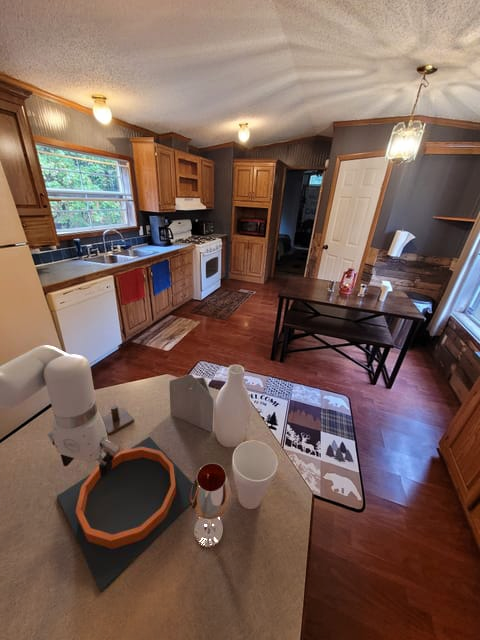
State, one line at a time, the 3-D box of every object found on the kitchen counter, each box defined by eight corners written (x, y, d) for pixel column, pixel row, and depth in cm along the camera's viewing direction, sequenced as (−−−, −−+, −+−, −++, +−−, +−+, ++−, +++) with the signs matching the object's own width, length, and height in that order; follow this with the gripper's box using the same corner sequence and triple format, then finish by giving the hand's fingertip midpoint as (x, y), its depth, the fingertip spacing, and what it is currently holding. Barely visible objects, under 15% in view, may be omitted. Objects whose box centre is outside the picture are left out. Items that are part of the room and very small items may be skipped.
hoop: (65, 495, 60) (63, 486, 59) (146, 442, 75) (146, 434, 74) (104, 575, 48) (102, 566, 46) (192, 492, 63) (192, 484, 61)
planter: (223, 416, 87) (226, 369, 79) (211, 432, 80) (213, 383, 73) (184, 400, 93) (183, 355, 85) (170, 414, 86) (168, 366, 78)
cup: (253, 530, 57) (259, 492, 51) (220, 497, 63) (222, 459, 57) (278, 495, 64) (286, 458, 59) (246, 468, 70) (251, 432, 65)
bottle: (229, 417, 87) (234, 353, 77) (255, 435, 81) (264, 369, 70) (205, 436, 79) (207, 368, 69) (231, 458, 73) (238, 387, 62)
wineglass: (231, 516, 59) (237, 463, 52) (220, 559, 52) (225, 504, 44) (198, 505, 60) (199, 453, 53) (183, 545, 53) (182, 490, 46)
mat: (57, 497, 60) (56, 495, 60) (149, 437, 77) (149, 436, 77) (101, 592, 46) (100, 591, 46) (201, 494, 63) (201, 493, 63)
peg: (98, 421, 81) (95, 406, 79) (122, 408, 87) (120, 394, 84) (109, 435, 76) (106, 420, 74) (134, 421, 82) (132, 407, 80)
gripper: (24, 414, 51) (42, 471, 58) (101, 434, 49) (110, 491, 55) (55, 391, 58) (69, 444, 65) (124, 407, 55) (130, 460, 62)
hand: (88, 465), depth 60 cm, fingers open, 9 cm apart
